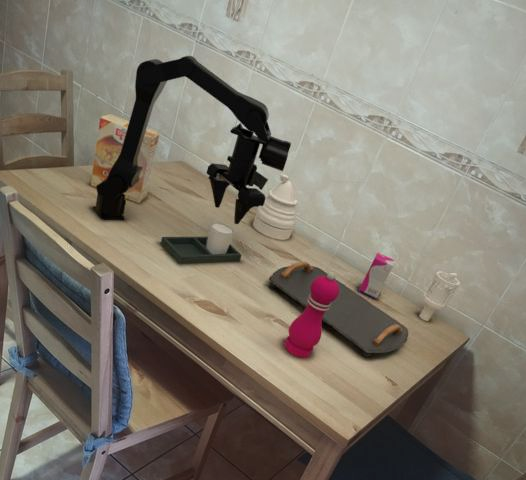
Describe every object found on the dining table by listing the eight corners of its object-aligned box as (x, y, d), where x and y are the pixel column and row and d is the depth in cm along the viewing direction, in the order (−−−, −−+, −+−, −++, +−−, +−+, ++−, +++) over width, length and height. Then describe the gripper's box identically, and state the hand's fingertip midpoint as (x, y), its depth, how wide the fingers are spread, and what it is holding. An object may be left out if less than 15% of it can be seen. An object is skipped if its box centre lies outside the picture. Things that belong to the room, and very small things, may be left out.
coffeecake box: (89, 185, 147) (99, 116, 136) (99, 179, 153) (109, 112, 142) (138, 204, 148) (152, 137, 137) (147, 197, 154) (160, 132, 143)
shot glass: (229, 251, 142) (236, 228, 138) (225, 260, 136) (232, 237, 132) (205, 242, 141) (212, 219, 137) (200, 252, 136) (207, 228, 132)
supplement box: (378, 292, 154) (395, 259, 148) (375, 300, 149) (393, 266, 143) (361, 284, 154) (377, 251, 148) (357, 291, 149) (375, 257, 143)
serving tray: (256, 281, 133) (263, 260, 130) (306, 269, 150) (314, 250, 147) (372, 368, 117) (384, 348, 114) (414, 344, 134) (425, 325, 131)
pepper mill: (280, 336, 115) (313, 259, 105) (310, 343, 117) (345, 268, 106) (284, 355, 110) (319, 276, 99) (314, 362, 111) (352, 285, 101)
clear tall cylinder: (439, 322, 151) (466, 280, 143) (427, 326, 146) (454, 282, 138) (420, 309, 154) (446, 267, 146) (408, 312, 149) (434, 268, 141)
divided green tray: (179, 264, 127) (181, 256, 126) (160, 243, 132) (161, 236, 131) (239, 261, 139) (241, 254, 138) (219, 243, 145) (222, 236, 144)
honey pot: (258, 235, 159) (277, 180, 149) (248, 217, 168) (266, 164, 158) (294, 242, 164) (315, 190, 154) (283, 225, 173) (302, 174, 164)
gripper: (290, 175, 125) (270, 232, 133) (247, 145, 135) (231, 200, 143) (256, 172, 117) (237, 232, 126) (213, 140, 127) (198, 198, 136)
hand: (226, 215), depth 133 cm, fingers open, 9 cm apart
